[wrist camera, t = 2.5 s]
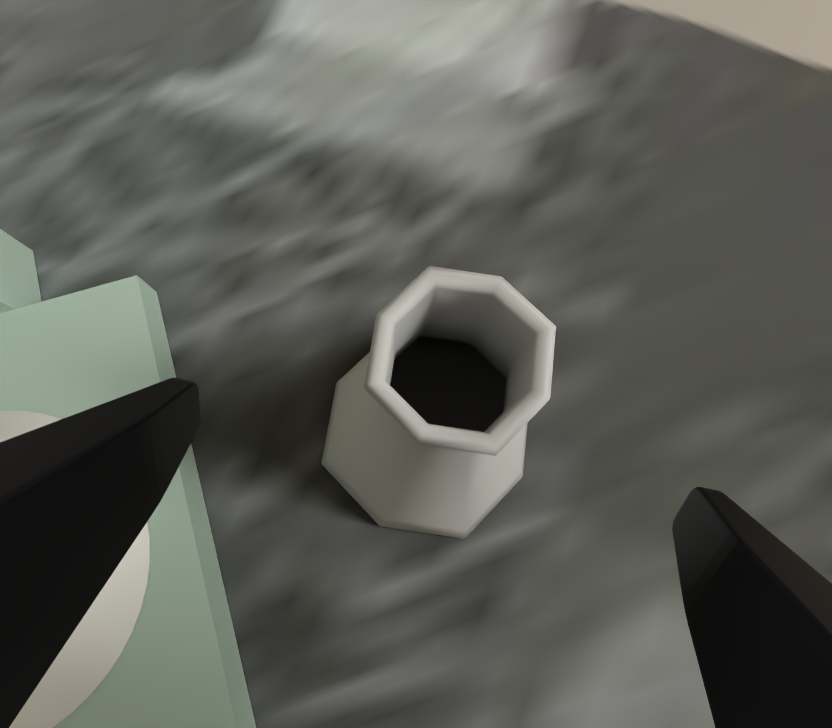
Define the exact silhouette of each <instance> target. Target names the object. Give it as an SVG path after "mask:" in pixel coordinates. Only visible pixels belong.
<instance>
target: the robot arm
mask: <svg viewBox="0 0 832 728" xmlns="http://www.w3.org/2000/svg"><path fill="white" fill-rule="evenodd" d="M199 424H200V405H199V390H198V386H197V384H196V383H195V382H194V381H190V380H185V379H180V378H170V379H167V380H164V381H162V382H159V383H156V384H154V385H151V386H148V387H146V388H143V389H140V390H138V391H135V392H132V393H130V394H127V395H124V396H122V397H119V398H116V399H114V400H111V401H109V402H106V403H103V404H101V405H98V406H95V407H93V408H90V409H87V410H85V411H82V412H79V413H77V414H74V415H71V416H69V417H66V418H63V419H61V420H58V421H55V422H53V423H50V424H47V425H45V426H42V427H40V428H37V429H34V430H32V431H29V432H26V433H24V434H21V435H18V436H16V437H13V438H10V439H8V440H5V441H2V442H0V728H9V727H10V726H11V724H12V723H13V721H14V720H15V718H16V717H17V715H18V714H19V712H20V711H21V709H22V708H23V706H24V705H25V703H26V702H27V700H28V699H29V697H30V696H31V694H32V693H33V691H34V690H35V688H36V687H37V685H38V684H39V682H40V681H41V679H42V678H43V676H44V675H45V674H46V672H47V671H48V669H49V668H50V666H51V665H52V663H53V662H54V660H55V659H56V657H57V656H58V654H59V653H60V651H61V650H62V648H63V647H64V645H65V644H66V642H67V641H68V639H69V638H70V636H71V635H72V633H73V632H74V630H75V629H76V627H77V626H78V624H79V623H80V621H81V620H82V618H83V617H84V615H85V614H86V612H87V611H88V609H89V608H90V606H91V605H92V603H93V602H94V600H95V599H96V597H97V596H98V594H99V593H100V592H101V590H102V589H103V587H104V586H105V584H106V583H107V581H108V580H109V578H110V577H111V575H112V574H113V572H114V571H115V569H116V568H117V566H118V565H119V563H120V562H121V560H122V559H123V557H124V556H125V554H126V553H127V551H128V550H129V548H130V547H131V545H132V544H133V542H134V541H135V539H136V538H137V536H138V535H139V533H140V532H141V530H142V529H143V527H144V526H145V524H146V523H147V521H148V520H149V518H150V517H151V515H152V514H153V512H154V511H155V509H156V508H157V506H158V505H159V503H160V501H161V500H162V498H163V496H164V494H165V492H166V491H167V489H168V487H169V485H170V483H171V481H172V479H173V477H174V475H175V473H176V471H177V469H178V467H179V466H180V464H181V462H182V460H183V458H184V456H185V454H186V452H187V450H188V448H189V446H190V444H191V442H192V440H193V438H194V437H195V435H196V433H197V430H198V428H199ZM672 530H673V538H674V545H675V551H676V558H677V564H678V571H679V577H680V584H681V590H682V597H683V603H684V608H685V613H686V617H687V621H688V626H689V630H690V633H691V637H692V641H693V645H694V648H695V652H696V656H697V660H698V664H699V667H700V671H701V675H702V679H703V682H704V686H705V690H706V694H707V697H708V701H709V705H710V709H711V712H712V716H713V720H714V724H715V728H832V583H830V582H829V581H828V580H827V579H826V578H824V577H823V576H822V575H821V574H820V573H818V572H817V571H816V570H815V569H814V568H812V567H811V566H810V565H809V564H808V563H806V562H805V561H804V560H803V559H802V558H800V557H799V556H798V555H797V554H796V553H794V552H793V551H792V550H791V549H790V548H788V547H787V546H786V545H785V544H784V543H782V542H781V541H780V540H779V539H778V538H776V537H775V536H774V535H773V534H772V533H770V532H769V531H768V530H767V529H766V528H764V527H763V526H762V525H761V524H760V523H758V522H757V521H756V520H755V519H754V518H752V517H751V516H750V515H749V514H748V513H746V512H745V511H744V510H743V509H742V508H740V507H739V506H738V505H737V504H736V503H734V502H733V501H732V500H731V499H730V498H728V497H727V496H726V495H725V494H724V493H722V492H720V491H717V490H713V489H708V488H703V487H696V488H694V489H693V490H692V491H691V492H690V494H689V495H688V497H687V498H686V500H685V502H684V503H683V505H682V506H681V508H680V510H679V511H678V513H677V515H676V516H675V518H674V521H673V528H672Z"/></svg>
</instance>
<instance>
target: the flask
mask: <svg viewBox="0 0 832 728" xmlns="http://www.w3.org/2000/svg"><path fill="white" fill-rule="evenodd" d="M555 331H556V326H555V325H554V324H553V323H552V322H551V321H550V320H548V319H547V318H546V317H545V316H544V315H543V314H542V313H541V312H540V311H539V310H537V309H536V308H535V307H534V306H533V305H532V304H531V303H530V302H529V301H528V300H527V299H525V298H524V297H523V296H522V295H521V294H520V293H519V292H518V291H517V290H516V289H514V288H513V287H512V286H511V285H510V284H509V283H508V282H507V281H506V280H505V279H504V278H502V277H501V276H494V275H487V274H481V273H474V272H467V271H460V270H454V269H447V268H440V267H434V266H429V267H428V268H427V269H425V270H424V271H423V272H422V273H421V274H420V275H419V276H418V277H417V278H416V279H414V280H413V281H412V282H411V283H410V284H409V285H408V286H407V287H406V288H405V289H403V290H402V291H401V292H400V293H399V294H398V295H397V296H396V297H395V298H394V299H392V300H391V301H390V302H389V303H388V304H387V305H386V306H385V307H384V308H383V309H381V310H380V311H379V312H378V313H377V315H376V321H375V326H374V332H373V338H372V344H371V349H370V352H369V353H368V354H367V355H366V356H365V357H364V358H362V359H361V360H360V361H359V362H358V363H357V364H356V365H355V366H354V367H353V368H352V369H351V370H350V371H348V372H347V373H346V374H345V375H344V376H343V377H342V378H341V379H340V380H339V381H338V382H337V383H336V388H335V393H334V399H333V404H332V409H331V415H330V420H329V425H328V430H327V436H326V441H325V446H324V452H323V457H322V462H321V464H322V465H323V466H324V467H325V468H326V470H327V471H328V472H329V473H330V474H331V475H332V476H333V477H334V478H335V479H336V480H337V481H338V482H339V483H340V484H341V486H342V487H343V488H344V489H345V490H346V491H347V492H348V493H349V494H350V495H351V496H352V497H353V498H354V499H355V500H356V501H357V503H358V504H359V505H360V506H361V507H362V508H363V509H364V510H365V511H366V512H367V513H368V514H369V515H370V516H371V517H372V519H373V520H374V521H375V522H376V523H377V524H378V525H379V526H382V527H388V528H395V529H402V530H408V531H415V532H422V533H428V534H435V535H442V536H448V537H455V538H462V539H466V537H467V536H468V535H469V534H470V533H471V532H472V531H473V530H474V529H475V528H476V527H477V526H478V524H479V523H480V522H481V521H482V520H483V519H484V518H485V517H486V516H487V515H488V514H489V513H490V511H491V510H492V509H493V508H494V507H495V506H496V505H497V504H498V503H499V502H500V501H501V500H502V498H503V497H504V496H505V495H506V494H507V493H508V492H509V491H510V490H511V489H512V488H513V487H514V486H515V484H516V483H517V482H518V481H519V480H520V479H521V478H522V477H523V467H524V456H525V445H526V434H527V423H528V422H529V421H530V420H531V418H532V417H533V416H534V415H535V414H536V413H537V412H538V411H539V410H540V409H541V408H542V407H543V406H544V405H545V404H546V403H547V402H548V401H549V400H550V394H551V381H552V369H553V356H554V344H555Z"/></svg>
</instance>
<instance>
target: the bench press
mask: <svg viewBox="0 0 832 728" xmlns="http://www.w3.org/2000/svg"><path fill="white" fill-rule="evenodd" d="M170 378H176V375H175V370H174V366H173V361H172V357H171V353H170V348H169V344H168V340H167V335H166V331H165V326H164V322H163V318H162V313H161V309H160V305H159V300H158V296H157V292H156V291H155V290H153V289H152V288H151V287H150V286H149V285H148V284H146V283H145V282H144V281H143V280H142V279H140V278H139V277H138V276H137V275H136V276H133V277H129V278H125V279H122V280H118V281H115V282H111V283H107V284H104V285H100V286H97V287H93V288H89V289H86V290H82V291H78V292H75V293H71V294H68V295H64V296H60V297H57V298H53V299H50V300H46V301H41V295H40V290H39V284H38V278H37V272H36V266H35V260H34V255H33V251H32V250H31V249H29V248H28V247H26V246H25V245H23V244H22V243H20V242H19V241H17V240H16V239H14V238H13V237H11V236H10V235H8V234H7V233H5V232H4V231H2V230H1V229H0V442H2V441H5V440H8V439H10V438H13V437H16V436H18V435H21V434H24V433H26V432H29V431H32V430H34V429H37V428H40V427H42V426H45V425H47V424H50V423H53V422H55V421H58V420H61V419H63V418H66V417H69V416H71V415H74V414H77V413H79V412H82V411H85V410H87V409H90V408H93V407H95V406H98V405H101V404H103V403H106V402H109V401H111V400H114V399H116V398H119V397H122V396H124V395H127V394H130V393H132V392H135V391H138V390H140V389H143V388H146V387H148V386H151V385H154V384H156V383H159V382H162V381H164V380H167V379H170ZM9 728H256V725H255V720H254V716H253V711H252V707H251V703H250V698H249V694H248V690H247V685H246V681H245V676H244V672H243V668H242V663H241V659H240V655H239V650H238V646H237V641H236V637H235V633H234V628H233V624H232V620H231V615H230V611H229V606H228V602H227V598H226V593H225V589H224V585H223V580H222V576H221V571H220V567H219V563H218V558H217V554H216V550H215V545H214V541H213V536H212V532H211V528H210V523H209V519H208V515H207V510H206V506H205V501H204V497H203V493H202V488H201V484H200V480H199V475H198V471H197V466H196V462H195V458H194V453H193V449H192V445H191V444H190V446H189V448H188V450H187V452H186V454H185V456H184V458H183V460H182V462H181V464H180V466H179V467H178V469H177V471H176V473H175V475H174V477H173V479H172V481H171V483H170V485H169V487H168V489H167V491H166V492H165V494H164V496H163V498H162V500H161V501H160V503H159V505H158V506H157V508H156V509H155V511H154V512H153V514H152V515H151V517H150V518H149V520H148V521H147V523H146V524H145V526H144V527H143V529H142V530H141V532H140V533H139V535H138V536H137V538H136V539H135V541H134V542H133V544H132V545H131V547H130V548H129V550H128V551H127V553H126V554H125V556H124V557H123V559H122V560H121V562H120V563H119V565H118V566H117V568H116V569H115V571H114V572H113V574H112V575H111V577H110V578H109V580H108V581H107V583H106V584H105V586H104V587H103V589H102V590H101V592H100V593H99V594H98V596H97V597H96V599H95V600H94V602H93V603H92V605H91V606H90V608H89V609H88V611H87V612H86V614H85V615H84V617H83V618H82V620H81V621H80V623H79V624H78V626H77V627H76V629H75V630H74V632H73V633H72V635H71V636H70V638H69V639H68V641H67V642H66V644H65V645H64V647H63V648H62V650H61V651H60V653H59V654H58V656H57V657H56V659H55V660H54V662H53V663H52V665H51V666H50V668H49V669H48V671H47V672H46V674H45V675H44V676H43V678H42V679H41V681H40V682H39V684H38V685H37V687H36V688H35V690H34V691H33V693H32V694H31V696H30V697H29V699H28V700H27V702H26V703H25V705H24V706H23V708H22V709H21V711H20V712H19V714H18V715H17V717H16V718H15V720H14V721H13V723H12V724H11V726H10V727H9Z"/></svg>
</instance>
